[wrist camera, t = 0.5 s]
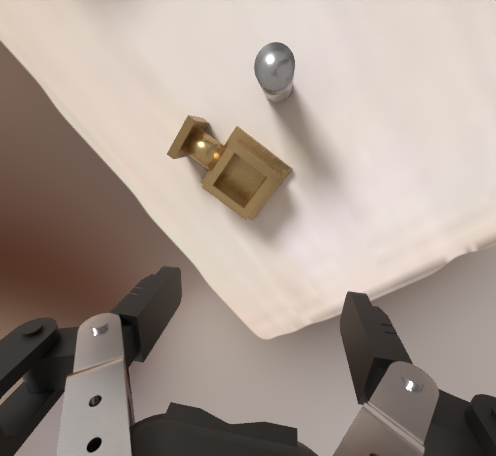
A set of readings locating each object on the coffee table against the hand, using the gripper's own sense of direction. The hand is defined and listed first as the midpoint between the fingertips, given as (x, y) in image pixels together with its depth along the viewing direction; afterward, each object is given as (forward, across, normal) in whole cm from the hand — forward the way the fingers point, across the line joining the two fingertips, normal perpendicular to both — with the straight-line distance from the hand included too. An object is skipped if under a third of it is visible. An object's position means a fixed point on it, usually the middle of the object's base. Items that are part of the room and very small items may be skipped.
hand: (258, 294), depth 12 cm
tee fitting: (+24, +7, -2) cm, 25 cm away
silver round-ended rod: (+25, +1, -12) cm, 28 cm away
